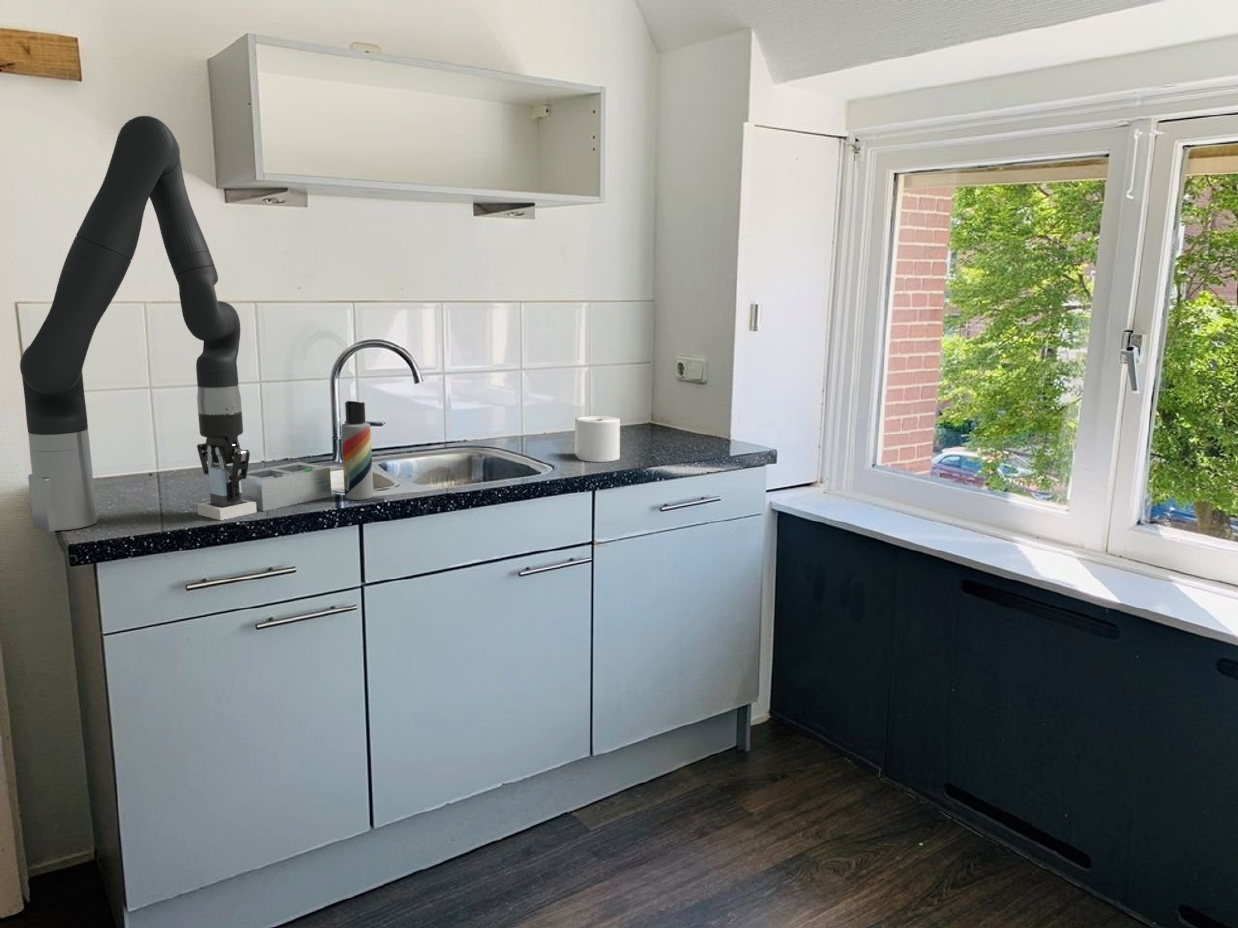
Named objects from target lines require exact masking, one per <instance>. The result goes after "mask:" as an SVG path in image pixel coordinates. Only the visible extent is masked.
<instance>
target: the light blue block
mask: <svg viewBox="0 0 1238 928" xmlns="http://www.w3.org/2000/svg"><path fill="white" fill-rule="evenodd" d="M230 465H231V464H227V466H230ZM208 470H209V475H208V479H209V491H210V492H209V493H210V494H209V495H210V501H211V505H212V506H216V507H220V508H224V507H229V506H234V505H239V504H243V503H242V489H241V481H239V491H240V492H239V493H240V499H239V501H235V502H229V501H228V500H227V489H226V483H227V482H226V478H225V472H224V471H223V470H221V467H220V466H216V467H209V466H208ZM230 474H232V469H231V470H230Z"/></svg>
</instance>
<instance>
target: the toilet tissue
mask: <svg viewBox="0 0 1238 928" xmlns="http://www.w3.org/2000/svg"><path fill="white" fill-rule="evenodd" d="M576 417H577V416H576V415H575V416H574V454H575V457H577V459H578V460H580V461H585V462H596V463H597V462H599V463H600V462H601V463H602V462H603V463H604V462H614V461H618V460H620V458H621V457H620V454H621V451H620V450H621V443H620V442H621V419H620V418H618V417H614V416H610V415H607V416H606V415H605V416H604V415H602V416H601V415H599V416H598V415H596V416H595V415H592V416H590V415H589V416H583V417H582V416H581V417H578V418H576Z"/></svg>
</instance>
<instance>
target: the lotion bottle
mask: <svg viewBox="0 0 1238 928" xmlns="http://www.w3.org/2000/svg"><path fill="white" fill-rule="evenodd" d="M344 404H345V405H344V409H345V411H344V412H345V423H342V424H341V426H340V427H341V447H342V469H343V486H344V487H343V488H344V491H343V492H344V498H345V499H347V500H351V501H352V500H355V501H361V500H367V499H371V498H373V497H374V479H373V478H374V477H373V475H374V473H373V458H372V457H373V456H372V455H373V453H372V451H373V450H372V432H371V431H372V430H371V429H372V428H371V424H370V422H366V405H365V402H360V401H353V400H352V401H351V400H346V402H345V403H344Z"/></svg>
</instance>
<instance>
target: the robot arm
mask: <svg viewBox="0 0 1238 928" xmlns="http://www.w3.org/2000/svg"><path fill="white" fill-rule="evenodd" d="M178 143H179V142H177V139H176V137H175V136H174V134H173V132H172V131H171V130H170V127H169V126H167V125H166V124H165V123H164V122H163V121H162V120H160V119H159V118H157V117H153V116H151V115H140V116H135V117H133V118H131V119H129V120H128V121H127V122H125V123H124V124H123V126H122V127H121V128H120V130H119V132H118V135H117V137H116V142H115V144H114V148H113V152H112V155H111V158H110V161H109V164H108V167H107V171H106V173H105V176H104V179H103V181H102V184H101V186H100V187H99V190H98V192H97V194H96V196H95V197H94V199H93V201H92V203H91V205H90V207H89V208H88V210H87V212H86V214H85V217H84V218H83V220H82V223H81V225H80V226H79V229H78V231H77V233H76V234H75V236H74V238H73V241H72V243H71V246H70V248H69V250H68V252H67V255H66V257H65V260H64V263H63V266H62V269H61V271H60V274H59V275H60V276H59V278H58V282H57V285H56V290H55V293H54V297H53V301H52V304H51V307H50V310H49V311H48V313H47V316H46V317H45V319H44V322H43V323H42V324H41V326H40V328H39V329H38V331H37V334H36V335H35V337H34V339H33V340H32V342H31V343H30V345H28V346H27V348H25V350H24V351H23V353H22V355H21V357H20V361H19V367H20V368H19V369H20V374H21V378H22V386H23V395H24V402H25V403H24V404H25V418H26V426H27V434H28V444H29V451H30V461H31V462H30V463H31V469H32V473H30V474H28V476H27V477H28V478H27V479H28V486H29V487H28V488H29V496H30V504H31V513H32V521H33V523H32V524H33V527H34V528H37V529H39V530H40V529H41V530H43V531H46V532H49V533H51V532H57V531H68V530H69V531H70V530H76V529H81V528H85V527H89V526H92V525H95V524H97V523H98V510H97V504H96V494H95V485H94V484H95V483H94V476H93V475H94V474H93V466H92V456H91V455H92V454H91V446H90V445H91V444H90V435H89V424H88V415H87V414H88V413H87V405H86V397H85V396H86V395H85V388H84V387H85V386H84V385H85V384H84V376H83V367H84V364H85V360H86V356H87V354H88V350H89V348H90V344H91V342H92V338H93V336H94V333H95V332H96V328H97V327H98V324H99V322H100V321H101V319H102V317H103V316H104V314H105V312H106V311H107V309H108V308H109V306H110V305H111V303H112V301H113V299H114V298H115V295H116V294H117V292H118V290H119V288H120V287H121V284H122V282H123V281H124V279H125V276H126V274H127V271H128V269H129V267H130V264H132V260H133V259H134V256H135V253H136V249H137V247H138V243H139V239H140V234H141V230H142V226H143V225H142V224H143V218H144V213H145V209H146V205H147V204H148V200H149V199H150V201H151V204H152V207H153V209H154V213H155V215H156V219H157V223H158V226H159V227H158V228H159V230H160V234H161V238H162V241H163V243H162V244H163V246H164V249H165V252H166V254H167V258H168V261H169V263H170V267H171V269H172V273H173V274H174V276H175V279H176V281H177V284H178V292H179V293H178V294H179V300H180V308H181V312H182V317H183V321H184V323H185V326H186V327H187V329H188V330H189V332H190V333H191V335H192V336H193V337H195V339H197V340H200V341H202V342H203V347H202V353H201V354H200V355H199V356H198V357H197V359H196V364H195V365H196V366H195V367H196V368H195V370H196V383H197V385H196V386H197V395H196V399H197V400H196V401H197V404H196V405H197V414H198V423H199V424H198V427H199V434H200V436H201V437H203V438H206V439H205V443H200V444H199V443H198V444H197V445H196V448H197V452H198V456H199V460H200V464H201V467H202V470H203V471H202V472H203V475H205V476H206V475H208V476H209V470H208V467H216V466H220V467H221V470H223V471H224V472H225V478H226V482H227V483H226V489H227V500H228V501H229V502H235V501H239V499H240V493H239V492H240V491H239V481H241V480H242V479H246V477H247V471H249V470H248V469H249V461H250V455H251V452H250V450H248V449H242V448H241V445H240V442H239V439H238V438H239V436H241V435H242V434H243V433H244V425H243V414H242V413H243V411H242V410H243V409H242V397H241V392H240V387H239V386H240V385H239V374H238V373H239V372H238V365H237V360H238V355H239V346H240V340H241V322H240V318H239V314H238V312H237V310H236V309H235V307H234V306H233V305H231V304H230V303H228V302H225V301H219V300H218V297H217V293H216V289H215V286H216V284H217V283H218V281H219V275H218V271H217V267H216V266H215V263H214V260H213V257H212V254H211V252H210V249H209V246H208V243H207V241H206V238H205V236H204V234H203V231H202V229H201V227H200V224H199V222H198V220H197V217H196V215H195V212H194V209H193V207H192V204H191V202H190V199H189V194H188V192H187V188H186V185H185V179H184V174H183V168H182V162H181V157H180V155H181V154H180V147H179V144H178ZM227 464H229V465H230V466H227ZM231 469H232V474H230V470H231Z"/></svg>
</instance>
